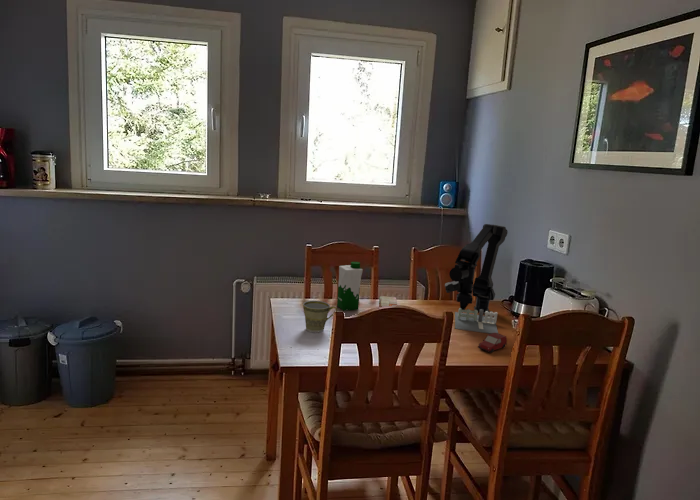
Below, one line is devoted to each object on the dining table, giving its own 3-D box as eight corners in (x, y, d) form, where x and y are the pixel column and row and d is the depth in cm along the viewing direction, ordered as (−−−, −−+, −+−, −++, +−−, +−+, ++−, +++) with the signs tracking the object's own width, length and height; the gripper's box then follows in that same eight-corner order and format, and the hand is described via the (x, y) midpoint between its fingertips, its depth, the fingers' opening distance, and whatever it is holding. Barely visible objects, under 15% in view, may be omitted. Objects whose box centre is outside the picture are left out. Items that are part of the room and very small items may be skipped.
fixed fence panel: (478, 322, 222) (479, 310, 221) (478, 321, 224) (479, 309, 223) (495, 324, 221) (497, 312, 220) (495, 323, 223) (497, 311, 222)
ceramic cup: (302, 334, 193) (304, 308, 191) (300, 324, 202) (302, 300, 200) (337, 335, 195) (339, 309, 193) (334, 325, 204) (336, 301, 202)
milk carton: (361, 310, 226) (365, 265, 222) (341, 311, 222) (345, 265, 218) (352, 303, 233) (356, 260, 229) (333, 305, 230) (337, 260, 225)
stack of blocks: (377, 317, 218) (380, 289, 216) (392, 319, 218) (395, 290, 216) (377, 336, 197) (381, 305, 195) (394, 338, 197) (397, 306, 195)
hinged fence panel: (476, 319, 224) (477, 309, 223) (476, 320, 222) (478, 310, 221) (457, 317, 224) (458, 307, 223) (457, 318, 223) (459, 308, 222)
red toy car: (476, 349, 193) (478, 336, 192) (494, 343, 200) (495, 330, 199) (490, 355, 188) (491, 341, 187) (507, 348, 196) (509, 335, 195)
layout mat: (454, 312, 233) (454, 311, 233) (494, 317, 231) (494, 316, 231) (455, 328, 212) (455, 328, 212) (498, 334, 209) (498, 334, 209)
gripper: (447, 269, 231) (443, 302, 235) (446, 280, 214) (442, 316, 217) (473, 272, 230) (468, 306, 233) (474, 284, 212) (469, 320, 215)
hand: (461, 312), depth 225 cm, fingers closed
